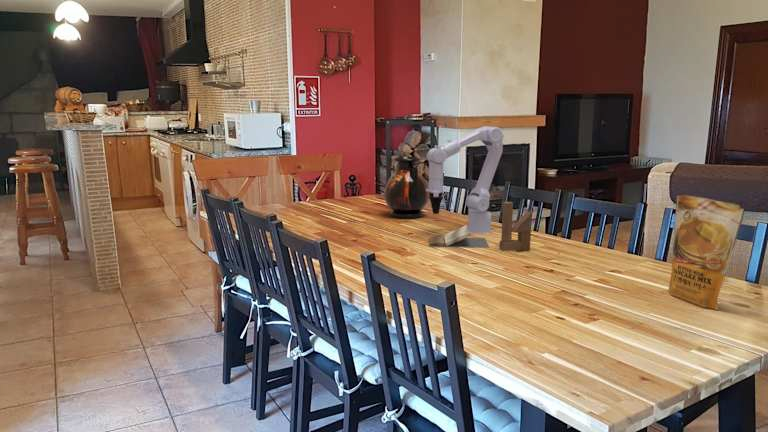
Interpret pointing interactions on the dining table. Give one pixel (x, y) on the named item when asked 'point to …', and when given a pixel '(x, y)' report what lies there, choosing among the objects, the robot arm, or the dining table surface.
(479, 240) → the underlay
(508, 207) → the brown wooden upright frame
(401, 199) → the amphora vase
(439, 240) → the laid plank
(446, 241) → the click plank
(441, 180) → the robot arm
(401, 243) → the dining table surface
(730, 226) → the pancake mix bag
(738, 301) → the dining table surface
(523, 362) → the dining table surface
